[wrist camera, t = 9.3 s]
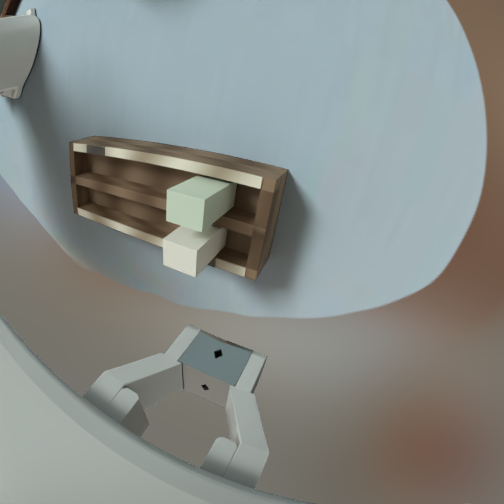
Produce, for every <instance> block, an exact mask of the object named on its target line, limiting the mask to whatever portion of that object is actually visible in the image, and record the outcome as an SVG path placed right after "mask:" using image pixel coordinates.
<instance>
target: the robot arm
mask: <svg viewBox="0 0 504 504" xmlns="http://www.w3.org/2000/svg"><path fill="white" fill-rule="evenodd" d="M39 36H40V23H39V19H38V18H37V17H36V16H35V9H34V8H33V9H29V10H28V11H27V12H26V13H25V14H24V15H19V16H11V17H4V18H0V95H3V96H7V97H10V98H14V99H15V98H19V97H20V95H21V92H22V88H23V85H24V82H25V81H26V79H27V77H28V75H29V73H30V70H31V68H32V65H33V62H34V59H35V55H36V52H37V47H38V42H39ZM266 359H267V356H266V355H263V354H260V353H258V352H255V351H253V350H251V349H248V348H245V347H243V346H240V345H237V344H234V343H232V342H229V341H225V340H223V339H221V338H219V337H216V336H214V335H212V334H210V333H208V332H205V331H203V330H201V329H199V328H196V327H194V326H192V325H188V326H187V327H186V328H185V329H184V330H183V332H182V333H181V334H180V335H179V336H178V338H177V339H176V340H175V342H174V343H173V344H172V345H171V347H170V348H169V349H168V350H167V352H166V353H165V354H163V353H159V354H156V355H153V356H150V357H147V358H144V359H141V360H138V361H135V362H132V363H129V364H126V365H123V366H120V367H117V368H113V369H110V370H107V371H104V373H103V374H102V375H101V376H100V377H99V378H98V379H97V380H96V381H95V383H94V384H93V385H92V386H91V387H90V388H89V389H88V390H87V391H86V393H85V394H84V395H83V396H81V395H80V394H79V393H78V392H77V391H75V390H74V389H73V388H72V387H71V386H69V385H68V384H67V383H66V382H65V381H64V380H63V379H62V378H60V377H59V376H58V375H57V374H56V373H55V372H54V371H53V370H52V369H51V368H50V367H49V366H48V365H47V364H46V363H44V361H43V360H42V359H41V358H39V356H38V355H37V354H36V353H35V352H34V351H33V350H32V349H31V348H30V347H29V346H28V345H27V344H26V343H25V342H24V340H23V339H22V338H21V337H20V336H19V335H18V334H17V333H16V331H15V330H14V329H13V328H12V326H11V325H10V324H9V323H8V322H7V320H6V319H5V318H4V317H3V315H2V314H1V313H0V504H316V503H310V502H304V501H300V500H295V499H291V498H287V497H283V496H279V495H275V494H271V493H267V492H264V491H261V490H257V489H255V486H256V484H257V482H258V479H259V477H260V475H261V473H262V470H263V467H264V465H265V463H266V460H267V458H268V455H269V450H268V446H267V442H266V438H265V434H264V430H263V426H262V422H261V418H260V414H259V409H258V405H257V401H256V397H255V395H254V394H253V392H254V390H255V388H256V386H257V383H258V380H259V378H260V375H261V373H262V370H263V367H264V365H265V362H266ZM183 390H186V391H188V392H190V393H192V394H194V395H197V396H199V397H201V398H203V399H206V400H208V401H210V402H212V403H214V404H216V405H219V406H221V407H223V408H225V412H226V420H227V427H228V435H229V439H226V438H224V437H220V438H217V439H216V441H215V443H214V444H213V446H212V448H211V450H210V451H209V453H208V455H207V457H206V458H205V460H204V462H203V464H202V465H201V467H200V468H199V467H196V466H194V465H192V464H190V463H188V462H186V461H184V460H181V459H179V458H177V457H175V456H173V455H172V454H170V453H168V452H166V451H164V450H162V449H160V448H158V447H157V446H155V445H153V444H151V443H150V442H148V441H146V440H145V439H143V438H141V436H142V435H143V434H144V432H145V431H146V429H147V427H148V426H149V422H148V419H147V417H146V414H145V412H144V410H145V409H147V408H149V407H151V406H154V405H156V404H158V403H160V402H162V401H164V400H166V399H168V398H170V397H172V396H174V395H176V394H178V393H180V392H182V391H183Z"/></svg>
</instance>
